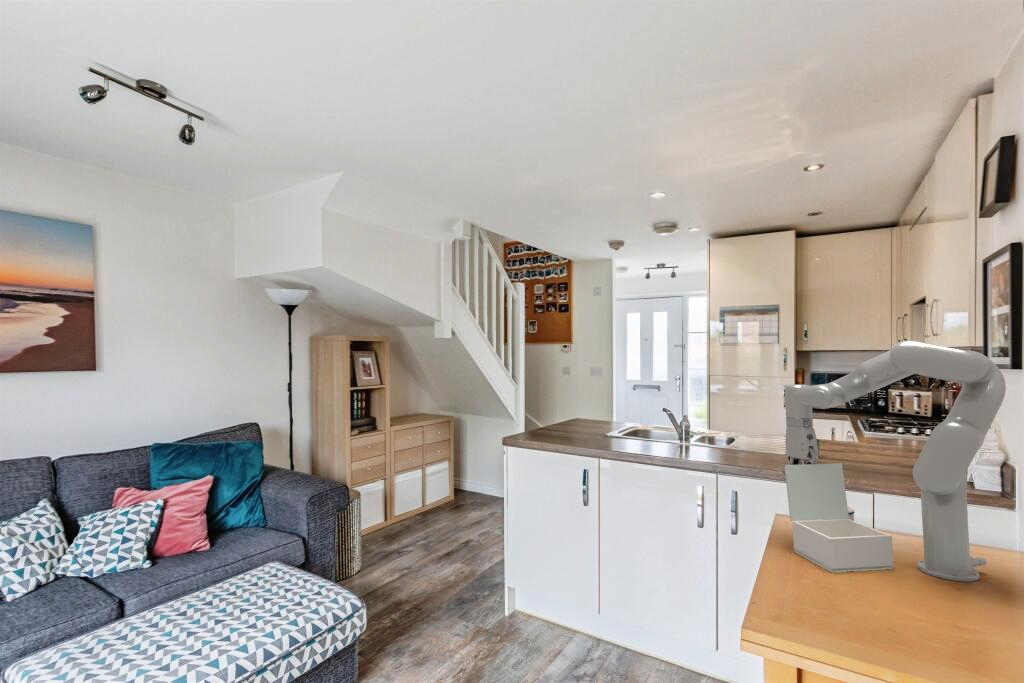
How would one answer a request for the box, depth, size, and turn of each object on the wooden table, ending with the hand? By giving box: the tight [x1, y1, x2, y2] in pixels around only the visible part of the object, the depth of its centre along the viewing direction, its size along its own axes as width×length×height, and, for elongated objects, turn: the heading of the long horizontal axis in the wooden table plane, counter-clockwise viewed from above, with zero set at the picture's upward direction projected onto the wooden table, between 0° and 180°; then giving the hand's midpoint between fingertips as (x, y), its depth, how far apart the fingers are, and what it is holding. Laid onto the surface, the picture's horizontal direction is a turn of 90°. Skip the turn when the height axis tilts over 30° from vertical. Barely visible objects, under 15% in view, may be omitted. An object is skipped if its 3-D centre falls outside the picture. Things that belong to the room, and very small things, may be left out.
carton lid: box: [781, 462, 849, 522], centre depth 160 cm, size 18×16×7 cm
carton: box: [792, 519, 894, 574], centre depth 147 cm, size 18×16×9 cm
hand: (801, 479), depth 164 cm, fingers open, 4 cm apart
